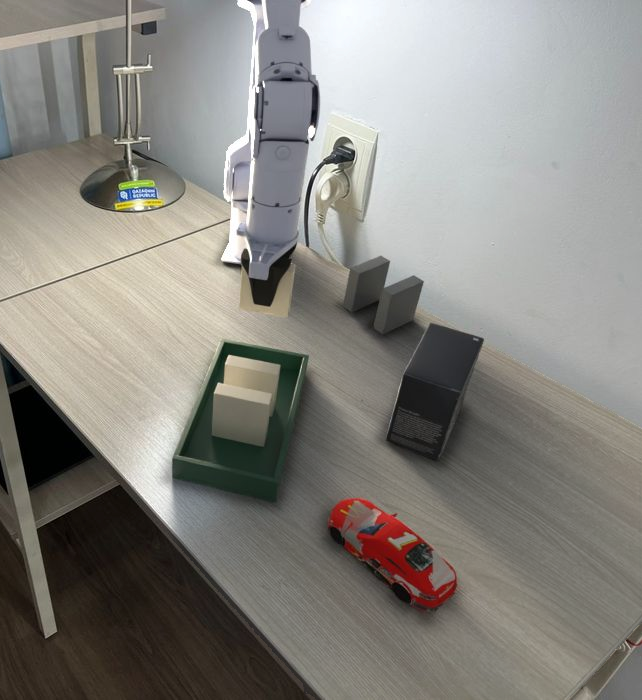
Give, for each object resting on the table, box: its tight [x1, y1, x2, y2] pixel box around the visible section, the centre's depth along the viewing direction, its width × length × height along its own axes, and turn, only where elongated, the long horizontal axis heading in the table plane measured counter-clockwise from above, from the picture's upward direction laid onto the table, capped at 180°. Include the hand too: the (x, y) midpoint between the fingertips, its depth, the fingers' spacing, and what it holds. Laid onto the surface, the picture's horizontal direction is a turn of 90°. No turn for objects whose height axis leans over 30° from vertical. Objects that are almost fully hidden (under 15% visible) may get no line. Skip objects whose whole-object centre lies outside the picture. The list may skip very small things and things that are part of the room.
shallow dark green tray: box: [171, 338, 310, 503], centre depth 80 cm, size 21×11×3 cm, turn 163°
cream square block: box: [238, 263, 296, 318], centre depth 82 cm, size 2×6×6 cm, turn 73°
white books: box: [212, 355, 281, 447], centre depth 78 cm, size 7×6×6 cm
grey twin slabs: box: [342, 255, 425, 335], centre depth 95 cm, size 8×6×6 cm
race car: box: [327, 497, 458, 613], centre depth 65 cm, size 13×5×4 cm, turn 37°
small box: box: [385, 322, 485, 461], centre depth 77 cm, size 11×6×10 cm, turn 149°
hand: (264, 298), depth 84 cm, fingers closed on cream square block, 2 cm apart
